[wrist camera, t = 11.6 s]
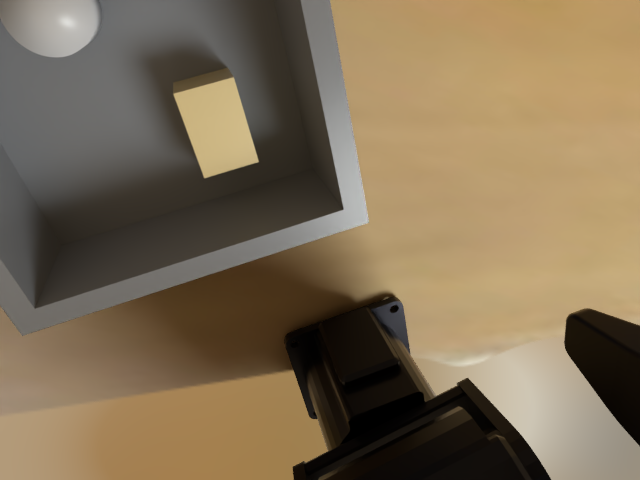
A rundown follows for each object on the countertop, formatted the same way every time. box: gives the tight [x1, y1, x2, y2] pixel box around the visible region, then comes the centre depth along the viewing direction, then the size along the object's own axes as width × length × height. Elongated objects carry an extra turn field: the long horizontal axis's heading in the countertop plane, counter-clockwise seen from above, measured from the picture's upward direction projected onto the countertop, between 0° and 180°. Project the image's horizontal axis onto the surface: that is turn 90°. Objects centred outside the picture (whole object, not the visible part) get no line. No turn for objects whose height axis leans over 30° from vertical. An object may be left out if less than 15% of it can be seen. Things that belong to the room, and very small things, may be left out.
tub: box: [0, 0, 369, 336], centre depth 15 cm, size 12×12×5 cm
